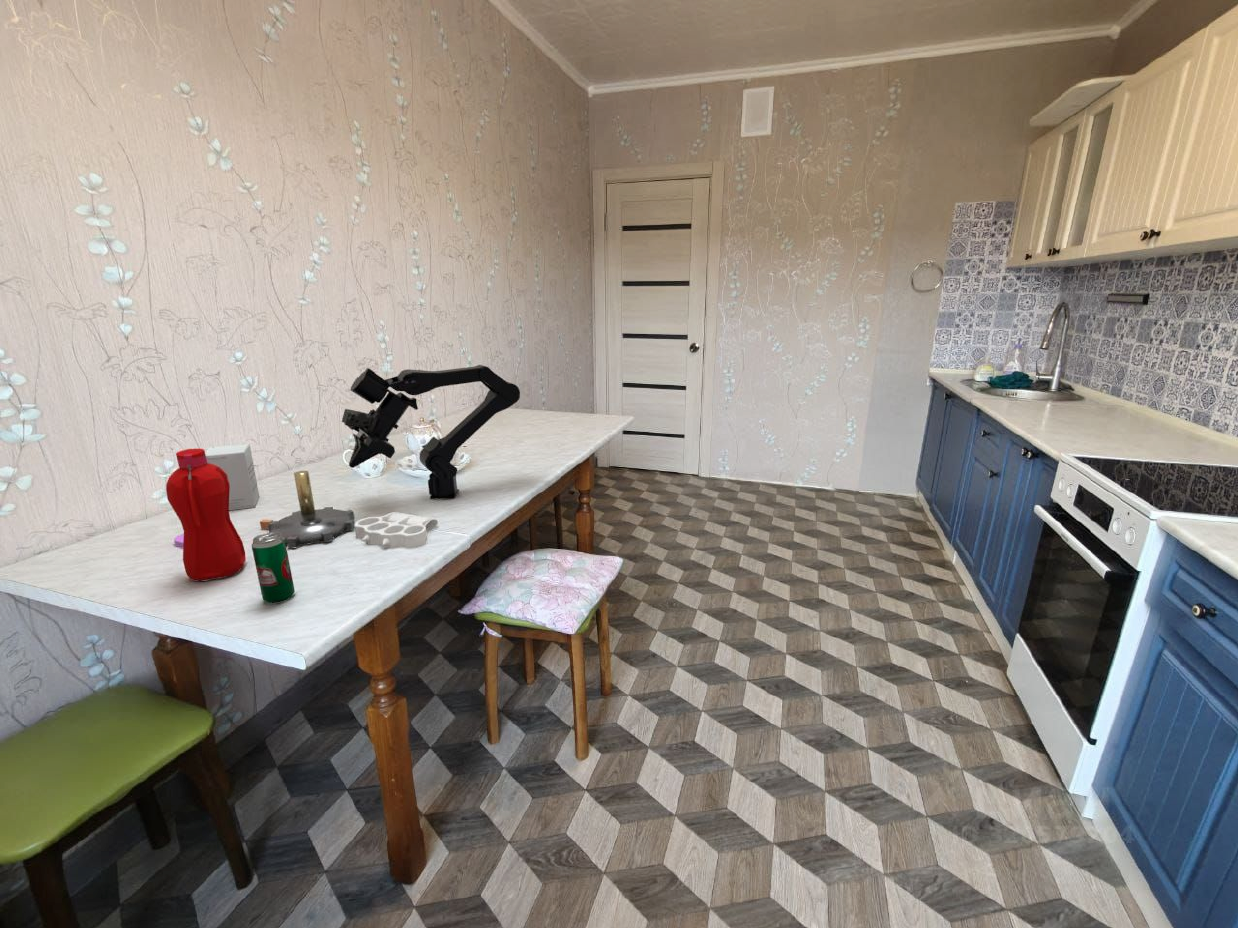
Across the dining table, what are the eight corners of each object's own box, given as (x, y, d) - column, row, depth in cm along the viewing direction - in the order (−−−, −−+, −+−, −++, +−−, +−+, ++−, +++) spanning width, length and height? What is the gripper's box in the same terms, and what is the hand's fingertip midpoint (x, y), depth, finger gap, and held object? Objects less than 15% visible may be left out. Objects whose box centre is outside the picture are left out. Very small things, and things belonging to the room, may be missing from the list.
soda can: (256, 601, 102) (243, 540, 98) (281, 588, 106) (269, 529, 103) (277, 607, 100) (264, 544, 96) (301, 593, 104) (290, 533, 101)
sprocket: (368, 513, 140) (362, 467, 137) (336, 546, 122) (327, 494, 119) (291, 515, 139) (282, 468, 136) (247, 548, 122) (236, 496, 118)
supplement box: (213, 513, 142) (200, 455, 137) (220, 501, 149) (208, 446, 145) (255, 507, 145) (244, 451, 141) (260, 496, 153) (249, 442, 148)
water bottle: (181, 591, 105) (147, 462, 98) (196, 565, 115) (166, 446, 107) (239, 581, 109) (211, 456, 101) (249, 557, 118) (224, 441, 111)
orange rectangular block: (274, 527, 133) (272, 520, 132) (270, 529, 132) (269, 522, 131) (265, 527, 133) (263, 519, 132) (261, 529, 132) (259, 521, 131)
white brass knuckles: (449, 530, 132) (405, 556, 119) (388, 519, 139) (340, 543, 126) (448, 516, 131) (404, 542, 118) (386, 506, 138) (338, 529, 125)
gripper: (348, 388, 141) (311, 439, 140) (371, 405, 128) (329, 463, 126) (386, 411, 149) (351, 460, 147) (411, 430, 136) (373, 485, 134)
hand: (350, 466), depth 139 cm, fingers closed
